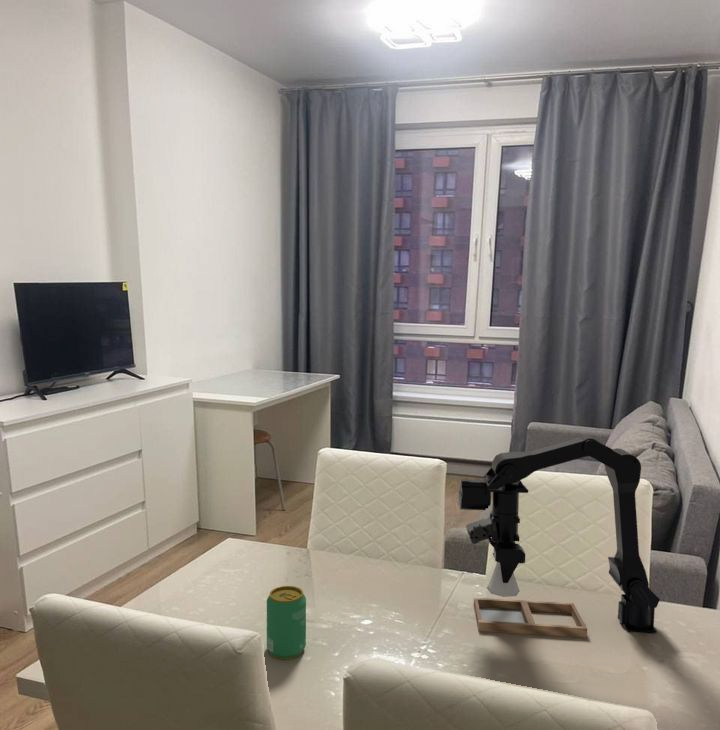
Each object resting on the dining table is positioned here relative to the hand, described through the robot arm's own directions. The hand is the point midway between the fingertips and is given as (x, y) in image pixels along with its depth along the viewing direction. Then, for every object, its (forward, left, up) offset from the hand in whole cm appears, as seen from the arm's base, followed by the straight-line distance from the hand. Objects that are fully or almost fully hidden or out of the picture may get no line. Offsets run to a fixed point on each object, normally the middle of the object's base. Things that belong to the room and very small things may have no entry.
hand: (503, 577), depth 136 cm
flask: (0, 0, -3) cm, 3 cm away
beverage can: (+46, +18, -10) cm, 51 cm away
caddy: (-6, 0, -10) cm, 11 cm away
